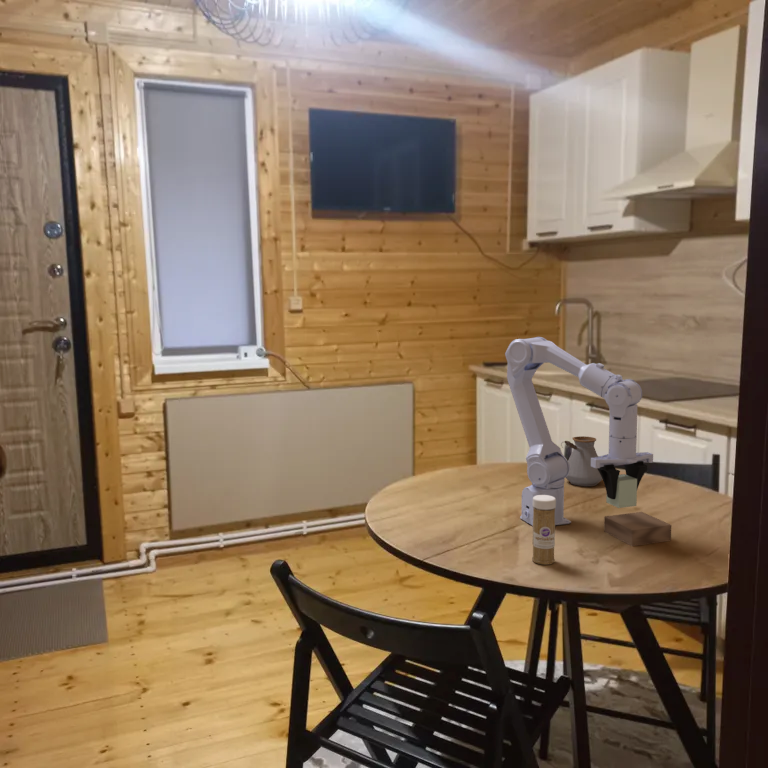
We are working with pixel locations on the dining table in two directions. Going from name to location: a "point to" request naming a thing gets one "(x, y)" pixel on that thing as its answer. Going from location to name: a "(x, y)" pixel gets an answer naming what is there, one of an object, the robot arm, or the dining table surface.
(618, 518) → the walnut block
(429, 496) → the dining table surface
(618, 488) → the sage block
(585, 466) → the coffee pot
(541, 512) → the sprinkles bottle
